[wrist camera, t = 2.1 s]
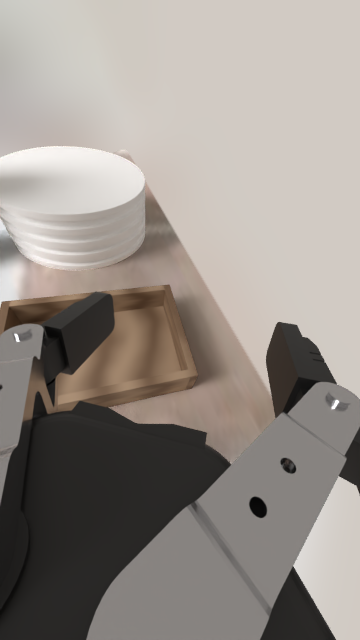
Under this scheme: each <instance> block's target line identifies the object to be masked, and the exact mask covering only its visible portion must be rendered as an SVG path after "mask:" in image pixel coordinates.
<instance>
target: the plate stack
mask: <svg viewBox="0 0 360 640" xmlns="http://www.w3.org/2000/svg"><path fill="white" fill-rule="evenodd" d="M0 218H1V220H2V222H3V224H4V225H5V227H6V229H7V231H8V233H9V235H10V236H11V238H12V239H13V242H14V243H15V245H16V247H17V249H18V250H19V251H20V252H21V253H22V254H23V255H24V256H25V257H27V258H28V259H30V260H31V261H33V262H35V263H38V264H40V265H43V266H46V267H50V268H55V269H61V270H90V269H97V268H102V267H106V266H109V265H112V264H115V263H118V262H120V261H122V260H124V259H126V258H127V257H129V256H131V255H132V254H133V253H134V252H136V251H137V250H138V248H139V247H140V246H141V245H142V243H143V241H144V238H145V177H144V175H143V173H142V171H141V170H140V169H139V168H138V167H137V166H136V165H135V164H133V163H132V162H130V161H129V160H127V159H125V158H123V157H120V156H118V155H115V154H112V153H108V152H105V151H100V150H96V149H91V148H83V147H71V146H51V147H39V148H32V149H27V150H22V151H18V152H14V153H11V154H8V155H6V156H3V157H1V158H0Z"/></svg>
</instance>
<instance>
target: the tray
mask: <svg viewBox="0 0 360 640" xmlns="http://www.w3.org/2000/svg"><path fill="white" fill-rule="evenodd" d="M93 293H94V292H93ZM101 293H107V294H111V295H112V298H113V306H114V317H115V326H114V329H113V331H112V333H111V334H110V335H109V336H108V337H107V338H106V339H105V340H104V341H103V343H102V344H101V345H100V346H99V347H98V348H97V349H96V350H95V351H94V352H93V353H92V354H91V355H90V357H89V358H88V359H87V360H86V361H85V362H84V363H83V364H82V365H81V366H80V367H79V368H78V369H77V371H76V372H75V373H74V374H73V375H68V374H64V373H59V374H58V375H57V378H58V412H60V411H69V410H73V408H74V407H75V406H76V405H77V403H78V402H79V401H83V402H87V403H91V404H95V405H99V406H103V407H111V406H115V405H120V404H124V403H129V402H133V401H137V400H142V399H146V398H151V397H155V396H159V395H164V394H168V393H173V392H177V391H182V390H186V389H190V388H192V387H193V385H194V383H195V381H196V378H197V376H198V373H197V370H196V367H195V363H194V360H193V357H192V354H191V351H190V348H189V345H188V341H187V338H186V335H185V332H184V329H183V326H182V323H181V320H180V316H179V313H178V310H177V307H176V304H175V301H174V298H173V294H172V291H171V288H170V285H162V286H152V287H142V288H132V289H122V290H113V291H103V292H101ZM91 294H92V293H83V294H73V295H64V296H54V297H44V298H34V299H24V300H15V301H5V302H2V304H1V308H0V336H1V334H2V333H3V332H5V331H6V330H8V329H10V328H12V327H15V326H19V325H23V324H37V325H41V324H42V323H44V322H45V321H47V320H49V319H50V318H52V317H53V316H55V315H56V314H58V313H61V311H63V310H64V309H67V307H69V306H70V305H72V304H73V303H75V302H78V301H81V300H83V299H85V298H86V297H88V296H89V295H91Z"/></svg>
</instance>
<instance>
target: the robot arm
mask: <svg viewBox="0 0 360 640" xmlns="http://www.w3.org/2000/svg"><path fill="white" fill-rule="evenodd" d="M114 326H115V317H114V306H113V298H112V295H111V294H107V293H101V292H94V293H92V294H91V295H89V296H88V297H86V298H85V299H83V300H81V301H78V302H75V303H73V304H72V305H70V306H69V307H67V309H64V310H63V311H61V313H58V314H56V315H55V316H53V317H52V318H50V319H49V320H47V321H45V322H44V323H42V324H41V325H37V324H23V325H19V326H15V327H12V328H10V329H8V330H6V331H5V332H3V333H2V334H1V336H0V640H336V639H335V637H334V635H333V634H332V632H331V630H330V629H329V627H328V625H327V623H326V622H325V620H324V618H323V617H322V615H321V613H320V611H319V610H318V608H317V606H316V605H315V603H314V601H313V599H312V598H311V596H310V594H309V593H308V591H307V589H306V588H305V586H304V584H303V582H302V581H301V579H300V577H299V575H298V574H297V572H296V570H295V569H294V567H293V565H294V563H295V561H296V559H297V557H298V555H299V553H300V551H301V549H302V547H303V545H304V543H305V541H306V539H307V537H308V535H309V533H310V531H311V529H312V527H313V525H314V523H315V521H316V519H317V517H318V515H319V513H320V511H321V509H322V507H323V506H324V504H325V502H326V500H327V497H328V496H329V494H330V492H331V490H332V488H333V486H334V484H335V482H336V480H337V478H338V476H340V477H342V478H343V479H345V480H347V481H349V482H351V483H352V484H354V485H356V486H357V488H358V491H359V493H360V399H359V398H358V397H357V396H356V395H355V394H353V393H352V392H350V391H349V390H347V389H345V388H343V387H342V386H339V385H337V383H336V381H335V379H334V378H333V376H332V374H331V372H330V370H329V368H328V366H327V365H326V363H324V359H323V358H322V356H321V353H320V351H319V349H318V348H317V346H316V345H315V344H314V343H313V342H312V341H310V340H309V339H308V338H305V337H302V335H301V333H300V331H299V329H298V326H297V325H294V324H288V323H282V322H278V323H277V324H276V327H275V330H274V332H273V335H272V338H271V341H270V344H269V348H268V350H267V356H266V365H267V371H268V377H269V383H270V388H271V394H272V400H273V406H274V412H275V417H276V419H275V420H274V421H273V422H272V423H271V424H270V425H269V426H268V427H267V428H266V429H265V430H264V431H263V432H262V434H261V435H260V436H259V437H258V438H257V439H256V440H255V441H254V442H253V443H252V444H251V445H250V446H249V447H248V448H247V449H246V450H245V451H244V452H243V453H242V454H241V455H240V456H239V457H238V459H237V460H236V461H235V462H234V463H233V464H232V465H231V464H230V463H229V462H228V461H227V460H226V459H225V458H224V457H223V456H222V455H221V454H220V453H218V452H217V451H216V450H214V449H213V448H211V447H210V446H208V445H206V444H205V442H206V435H207V433H206V432H202V431H198V430H194V429H190V428H186V427H182V426H178V425H174V424H137V423H134V422H132V421H131V420H129V419H127V418H125V417H124V416H122V415H120V414H118V413H117V412H115V411H113V410H111V409H110V408H107V407H103V406H99V405H95V404H91V403H87V402H83V401H79V402H78V403H77V405H76V406H75V407H74V408H73V410H69V411H60V412H58V378H57V375H58V374H59V373H64V374H68V375H73V374H74V373H75V372H76V371H77V369H78V368H79V367H80V366H81V365H82V364H83V363H84V362H85V361H86V360H87V359H88V358H89V357H90V355H91V354H92V353H93V352H94V351H95V350H96V349H97V348H98V347H99V346H100V345H101V344H102V343H103V341H104V340H105V339H106V338H107V337H108V336H109V335H110V334H111V333H112V331H113V329H114Z"/></svg>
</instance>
